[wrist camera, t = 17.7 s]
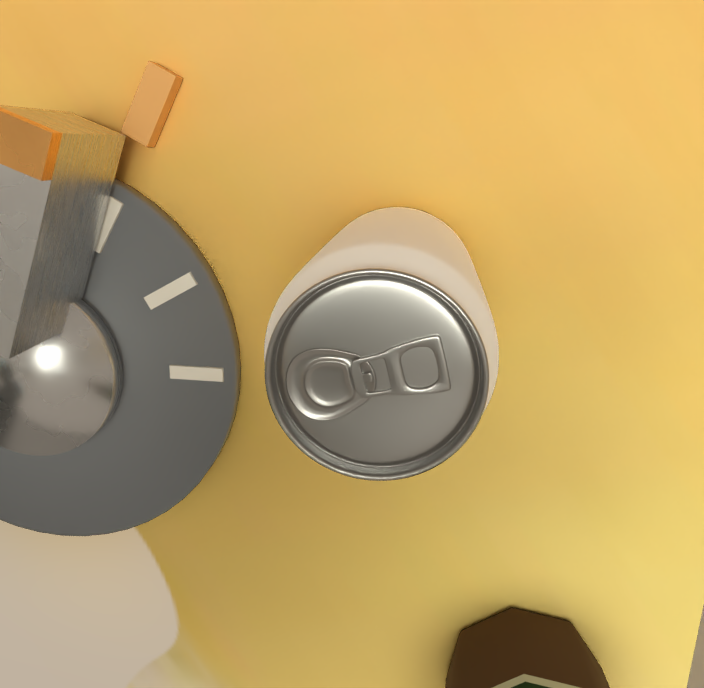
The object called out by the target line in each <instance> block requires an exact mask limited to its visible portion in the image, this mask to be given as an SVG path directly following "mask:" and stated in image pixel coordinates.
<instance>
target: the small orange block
mask: <svg viewBox="0 0 704 688" xmlns="http://www.w3.org/2000/svg"><path fill="white" fill-rule="evenodd" d="M182 80H183V78H182V77H180V76H178V75H176V74H175V73H173V72H171V71H169V70H168V69H166V68H164V67H162V66H161V65H159V64H157V63H154V62H151V61H148V63H147V66H146V69H145V71H144V74H143V76H142V79H141V81H140V84H139V86H138V89H137V91H136V94H135V96H134V99H133V101H132V104H131V106H130V109H129V112H128V114H127V117H126V119H125V122H124V124H123V127H122V129H121V133H123V134H125V135H126V136H128V137H130V138H132V139H134V140H135V141H137V142H139V143H141V144H142V145H144V146H146V147H155V145H156V143H157V140H158V138H159V135H160V133H161V131H162V128H163V126H164V123H165V121H166V119H167V116H168V114H169V111H170V109H171V107H172V104H173V102H174V99H175V97H176V95H177V92H178V90H179V87H180V85H181V83H182Z"/></svg>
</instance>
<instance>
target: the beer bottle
mask: <svg viewBox="0 0 704 688" xmlns="http://www.w3.org/2000/svg"><path fill="white" fill-rule="evenodd" d="M446 688H610V687H609V685H608V682H607V680H606V678H605V675H604V673H603V670H602V668H601V666H600V665H599V663H598V662H597V660H596V659H595V657H594V656H593V654H592V653H591V651H590V650H589V649H588V647H587V646H586V644H585V643H584V641H583V640H582V638H581V637H580V635H579V634H578V632H577V631H576V629H575V628H574V626H573V625H572V624H571V623H570V622H569V621H566V620H562V619H558V618H554V617H549V616H545V615H541V614H537V613H533V612H528V611H524V610H520V609H516V608H510V609H507V610H505V611H503V612H501V613H499V614H496V615H494V616H492V617H490V618H488V619H485V620H483V621H481V622H479V623H477V624H475V625H472V626H470V627H468V628H466V629H464V630H462V631H461V633H460V635H459V638H458V641H457V645H456V648H455V651H454V654H453V658H452V661H451V664H450V668H449V671H448V674H447V677H446Z"/></svg>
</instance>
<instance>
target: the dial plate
mask: <svg viewBox="0 0 704 688" xmlns="http://www.w3.org/2000/svg"><path fill="white" fill-rule="evenodd" d="M82 299H83V300H84V301H86V302H87V303H88V304H89V305H90V306H91V307H92V308H93V309H94V310H95V311H96V312H97V313H98V314H99V316H100V317H101V318H102V320H103V321H104V322H105V324H106V325H107V327H108V329H109V330H110V332H111V334H112V336H113V338H114V340H115V342H116V344H117V348H118V351H119V354H120V358H121V363H122V373H123V382H122V391H121V395H120V399H119V402H118V404H117V407H116V409H115V411H114V413H113V415H112V416H111V418H110V419H109V420H108V422H107V423H106V424H105V425H104V426H103V427H102V428H101V429H100V430H99V431H98V432H97V433H95V434H94V435H93V436H92V437H91V438H90V439H88V440H87V441H86V442H84V443H83V444H81V445H80V446H78V447H76V448H74V449H72V450H70V451H67V452H64V453H61V454H56V455H49V456H35V455H26V454H22V453H17V452H14V451H11V450H8V449H5V448H3V447H1V446H0V520H2V521H5V522H7V523H10V524H13V525H15V526H18V527H23V528H26V529H30V530H34V531H37V532H42V533H49V534H56V535H65V536H90V535H101V534H109V533H113V532H117V531H122V530H126V529H129V528H132V527H135V526H138V525H140V524H143V523H146V522H148V521H150V520H152V519H154V518H156V517H157V516H159V515H161V514H163V513H165V512H167V511H168V510H169V509H171V508H172V507H173V506H175V505H176V504H177V503H179V502H180V501H181V500H183V499H184V498H185V497H186V496H187V495H188V494H189V493H190V492H191V491H192V490H193V489H194V488H195V487H196V486H197V485H198V484H199V482H200V481H201V480H202V478H203V477H204V475H205V474H206V473H207V471H208V470H209V469H210V467H211V466H212V464H213V463H214V461H215V460H216V458H217V457H218V455H219V453H220V452H221V450H222V448H223V446H224V444H225V442H226V440H227V438H228V436H229V433H230V430H231V427H232V424H233V421H234V418H235V415H236V411H237V405H238V400H239V394H240V380H241V362H240V351H239V342H238V337H237V333H236V329H235V324H234V320H233V316H232V313H231V311H230V308H229V305H228V302H227V300H226V297H225V294H224V292H223V290H222V288H221V286H220V284H219V282H218V280H217V278H216V276H215V274H214V272H213V270H212V268H211V267H210V265H209V264H208V262H207V261H206V259H205V258H204V256H203V255H202V253H201V252H200V250H199V249H198V247H197V246H196V245H195V243H194V242H193V241H192V240H191V239H190V238H189V236H188V235H187V234H186V233H185V232H184V231H183V230H182V228H181V227H180V226H179V225H178V224H177V223H176V222H175V221H174V220H173V219H172V218H171V217H170V216H169V215H167V214H166V213H165V212H164V211H163V210H162V209H161V208H160V207H159V206H158V205H156V204H155V203H154V202H152V201H151V200H149V199H148V198H147V197H145V196H144V195H142V194H141V193H140V192H138V191H137V190H135V189H134V188H132V187H131V186H129V185H127V184H125V183H123V182H121V181H120V180H118V179H116V178H115V179H114V182H113V186H112V190H111V194H110V197H109V201H108V205H107V208H106V212H105V216H104V220H103V223H102V227H101V231H100V235H99V238H98V242H97V246H96V249H95V253H94V257H93V261H92V264H91V268H90V272H89V275H88V279H87V283H86V287H85V290H84V294H83V298H82Z"/></svg>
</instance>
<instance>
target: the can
mask: <svg viewBox="0 0 704 688" xmlns="http://www.w3.org/2000/svg"><path fill="white" fill-rule="evenodd" d="M264 360H265V384H266V391H267V395H268V399H269V402H270V405H271V408H272V411H273V413H274V415H275V417H276V419H277V421H278V423H279V425H280V426H281V428H282V429H283V431H284V432H285V434H286V435H287V436H288V437H289V439H290V440H291V441H292V442H293V443H294V444H295V445H296V446H297V447H298V448H299V449H300V450H301V451H302V452H303V453H304V454H306V455H307V456H308V457H310V458H311V459H312V460H314V461H315V462H317V463H318V464H320V465H322V466H324V467H326V468H328V469H330V470H332V471H334V472H337V473H339V474H342V475H345V476H349V477H353V478H357V479H364V480H374V481H387V480H397V479H403V478H407V477H411V476H415V475H418V474H421V473H423V472H426V471H428V470H430V469H432V468H434V467H436V466H438V465H439V464H441V463H443V462H444V461H446V460H447V459H448V458H450V457H451V456H452V455H453V454H454V453H456V452H457V451H458V450H459V449H460V448H461V447H462V446H463V445H464V443H465V442H466V441H467V440H468V439H469V437H470V436H471V434H472V433H473V431H474V430H475V428H476V426H477V425H478V423H479V421H480V419H481V416H482V414H483V413H484V411H485V409H486V407H487V405H488V403H489V401H490V399H491V396H492V394H493V391H494V388H495V384H496V380H497V374H498V365H499V346H498V338H497V333H496V328H495V324H494V320H493V317H492V314H491V311H490V308H489V305H488V302H487V299H486V297H485V294H484V291H483V288H482V286H481V283H480V280H479V278H478V275H477V273H476V270H475V267H474V265H473V262H472V260H471V258H470V255H469V253H468V251H467V249H466V247H465V246H464V244H463V242H462V241H461V239H460V238H459V237H458V235H457V234H456V233H455V232H454V231H453V230H452V229H451V228H450V227H449V226H448V225H446V224H445V223H444V222H443V221H441V220H440V219H438V218H436V217H435V216H433V215H431V214H428V213H426V212H423V211H420V210H417V209H412V208H406V207H389V208H382V209H378V210H374V211H371V212H368V213H366V214H364V215H362V216H360V217H358V218H356V219H355V220H353V221H352V222H350V223H349V224H348V225H346V226H345V227H344V228H343V229H342V230H341V231H340V232H338V233H337V234H336V235H335V236H334V237H333V238H332V239H331V240H330V241H329V242H328V243H327V244H326V245H325V246H324V247H323V248H322V249H321V250H320V251H319V252H318V253H317V254H316V255H315V256H314V257H313V258H312V259H311V260H310V261H309V262H308V263H307V264H306V265H305V266H304V267H303V268H302V269H301V270H300V271H299V272H298V273H297V274H296V275H295V276H294V278H293V279H292V280H291V281H290V283H289V284H288V285H287V286H286V288H285V289H284V291H283V292H282V294H281V295H280V297H279V299H278V301H277V303H276V305H275V307H274V309H273V312H272V314H271V317H270V319H269V323H268V326H267V331H266V336H265V345H264Z"/></svg>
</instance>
